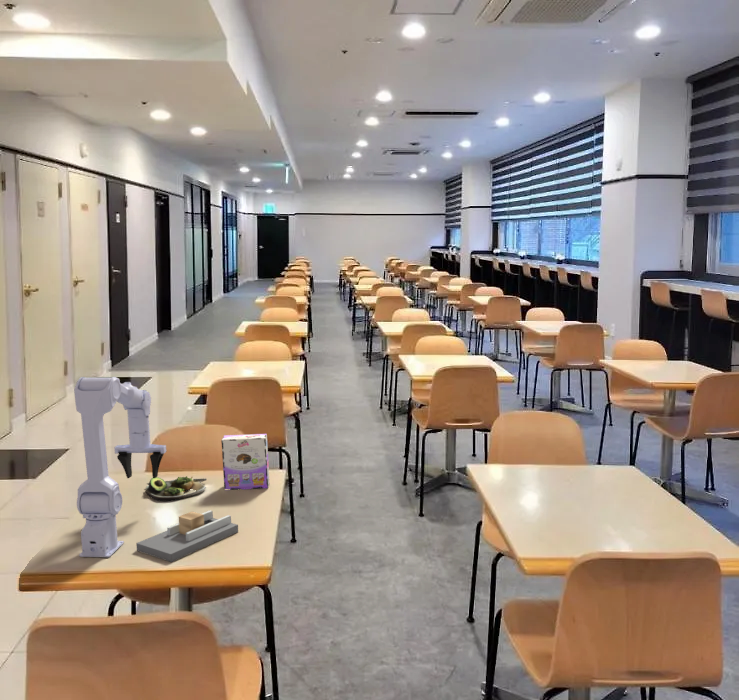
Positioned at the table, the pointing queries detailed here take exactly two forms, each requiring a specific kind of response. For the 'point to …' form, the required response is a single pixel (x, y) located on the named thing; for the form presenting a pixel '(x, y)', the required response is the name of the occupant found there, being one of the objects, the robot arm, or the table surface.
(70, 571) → the table surface
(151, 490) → the salad plate
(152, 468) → the robot arm
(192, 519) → the block
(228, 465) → the cake mix box
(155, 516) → the table surface
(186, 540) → the rail jig base
